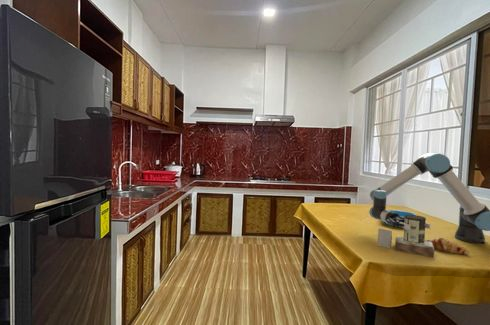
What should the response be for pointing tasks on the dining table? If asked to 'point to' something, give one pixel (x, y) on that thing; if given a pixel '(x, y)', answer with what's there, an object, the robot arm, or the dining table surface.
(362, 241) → the dining table surface
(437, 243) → the croissant
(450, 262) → the dining table surface
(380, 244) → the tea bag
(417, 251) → the stand
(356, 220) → the dining table surface
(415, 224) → the coffee can
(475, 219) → the robot arm
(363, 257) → the dining table surface
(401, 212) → the casserole dish
